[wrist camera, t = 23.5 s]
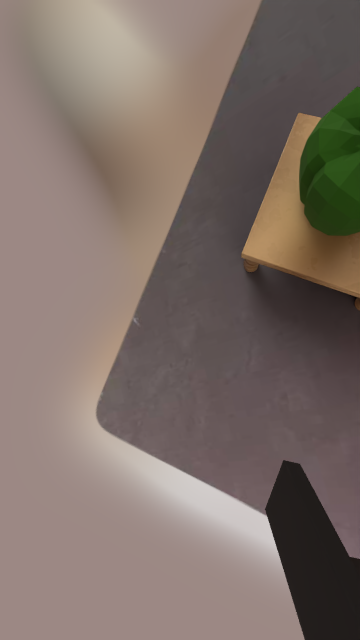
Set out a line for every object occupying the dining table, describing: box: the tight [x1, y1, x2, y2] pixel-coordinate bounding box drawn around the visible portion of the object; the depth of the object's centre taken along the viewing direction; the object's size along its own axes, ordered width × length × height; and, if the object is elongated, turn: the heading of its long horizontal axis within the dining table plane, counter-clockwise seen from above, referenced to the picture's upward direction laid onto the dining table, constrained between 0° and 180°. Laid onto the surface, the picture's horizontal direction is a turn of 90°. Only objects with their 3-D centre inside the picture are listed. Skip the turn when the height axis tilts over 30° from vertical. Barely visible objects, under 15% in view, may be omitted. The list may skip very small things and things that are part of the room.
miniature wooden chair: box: [241, 113, 360, 311], centre depth 25 cm, size 15×14×12 cm
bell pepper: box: [299, 87, 360, 236], centre depth 20 cm, size 8×8×10 cm
